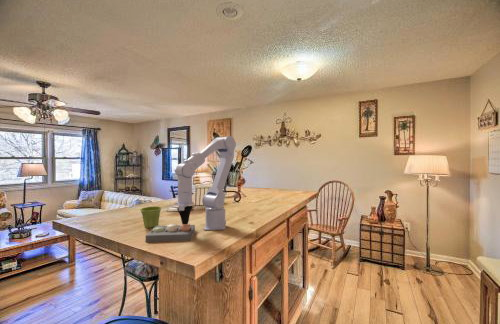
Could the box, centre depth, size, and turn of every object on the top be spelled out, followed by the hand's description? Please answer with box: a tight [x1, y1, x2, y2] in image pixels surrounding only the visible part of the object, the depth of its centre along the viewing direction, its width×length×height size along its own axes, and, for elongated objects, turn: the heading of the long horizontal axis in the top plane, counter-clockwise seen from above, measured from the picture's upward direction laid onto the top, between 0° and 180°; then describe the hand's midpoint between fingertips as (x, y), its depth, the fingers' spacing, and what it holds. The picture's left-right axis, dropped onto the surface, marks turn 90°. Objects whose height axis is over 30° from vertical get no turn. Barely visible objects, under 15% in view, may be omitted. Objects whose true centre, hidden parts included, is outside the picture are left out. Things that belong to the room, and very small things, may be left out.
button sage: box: [152, 227, 164, 232], centre depth 94 cm, size 4×4×3 cm
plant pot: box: [139, 205, 162, 229], centre depth 108 cm, size 9×9×9 cm
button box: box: [145, 224, 196, 243], centre depth 95 cm, size 17×12×3 cm
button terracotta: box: [179, 223, 191, 232], centre depth 95 cm, size 4×4×3 cm
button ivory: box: [166, 223, 178, 232], centre depth 95 cm, size 4×4×3 cm
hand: (185, 223), depth 95 cm, fingers closed
